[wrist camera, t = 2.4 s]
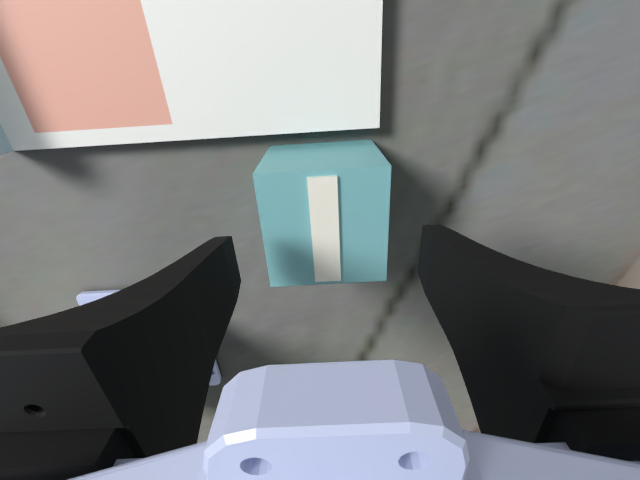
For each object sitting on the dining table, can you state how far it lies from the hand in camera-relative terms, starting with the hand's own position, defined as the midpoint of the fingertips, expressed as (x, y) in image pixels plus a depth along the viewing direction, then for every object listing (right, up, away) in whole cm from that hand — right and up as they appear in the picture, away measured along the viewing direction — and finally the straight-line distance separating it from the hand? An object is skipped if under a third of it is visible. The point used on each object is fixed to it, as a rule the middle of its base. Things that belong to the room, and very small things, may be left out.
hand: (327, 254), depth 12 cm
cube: (0, +3, +7) cm, 8 cm away
